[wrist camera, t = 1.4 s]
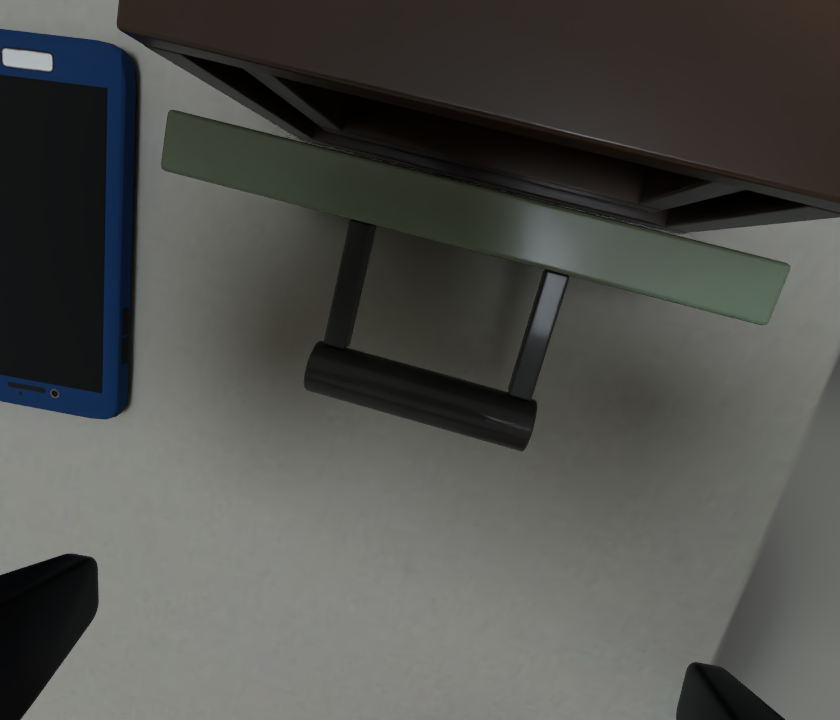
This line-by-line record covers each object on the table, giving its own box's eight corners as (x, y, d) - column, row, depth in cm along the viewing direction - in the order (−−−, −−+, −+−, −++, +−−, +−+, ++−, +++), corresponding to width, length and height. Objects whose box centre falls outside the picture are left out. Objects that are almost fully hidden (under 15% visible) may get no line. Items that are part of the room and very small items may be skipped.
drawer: (602, 425, 19) (680, 543, 11) (269, 332, 19) (130, 383, 12) (846, -271, 14) (1259, -878, 7) (399, -351, 15) (306, -967, 7)
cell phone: (138, 49, 19) (124, 41, 18) (129, 419, 22) (116, 425, 21) (-48, 27, 20) (-69, 18, 19) (-32, 389, 22) (-50, 393, 22)
